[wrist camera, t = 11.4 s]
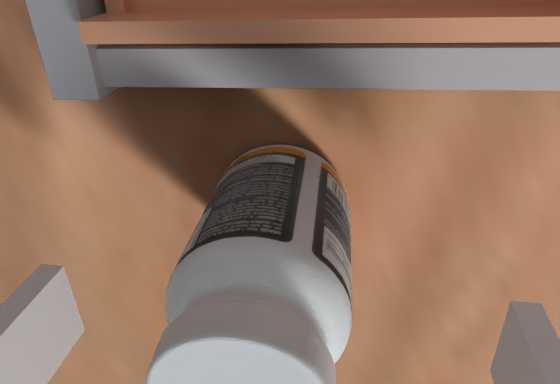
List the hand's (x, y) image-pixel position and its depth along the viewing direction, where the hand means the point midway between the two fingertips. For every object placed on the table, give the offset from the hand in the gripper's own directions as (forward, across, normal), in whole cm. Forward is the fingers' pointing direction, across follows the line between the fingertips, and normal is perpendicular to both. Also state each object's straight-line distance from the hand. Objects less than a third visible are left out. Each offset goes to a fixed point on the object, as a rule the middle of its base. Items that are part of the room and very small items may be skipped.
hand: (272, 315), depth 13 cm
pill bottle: (+7, -1, 0) cm, 7 cm away
